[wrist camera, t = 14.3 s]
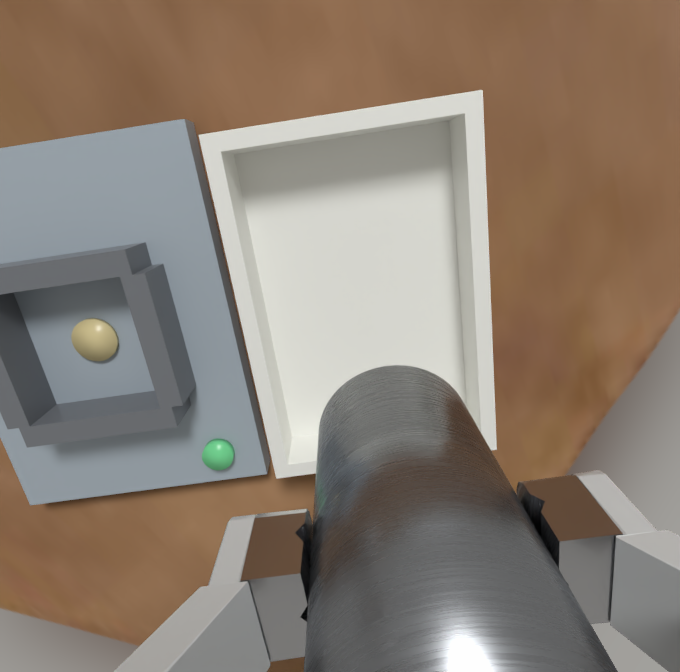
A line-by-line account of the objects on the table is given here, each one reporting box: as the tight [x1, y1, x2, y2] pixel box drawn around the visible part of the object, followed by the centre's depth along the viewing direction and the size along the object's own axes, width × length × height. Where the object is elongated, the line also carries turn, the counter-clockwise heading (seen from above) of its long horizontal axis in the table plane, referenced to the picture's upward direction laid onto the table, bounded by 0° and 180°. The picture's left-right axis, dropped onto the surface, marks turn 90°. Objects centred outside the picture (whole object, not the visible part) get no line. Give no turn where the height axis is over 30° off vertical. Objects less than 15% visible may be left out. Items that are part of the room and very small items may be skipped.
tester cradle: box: [0, 119, 270, 505], centre depth 25 cm, size 20×15×4 cm
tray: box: [199, 90, 497, 479], centre depth 25 cm, size 18×12×4 cm
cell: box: [304, 365, 618, 672], centre depth 8 cm, size 4×4×9 cm
